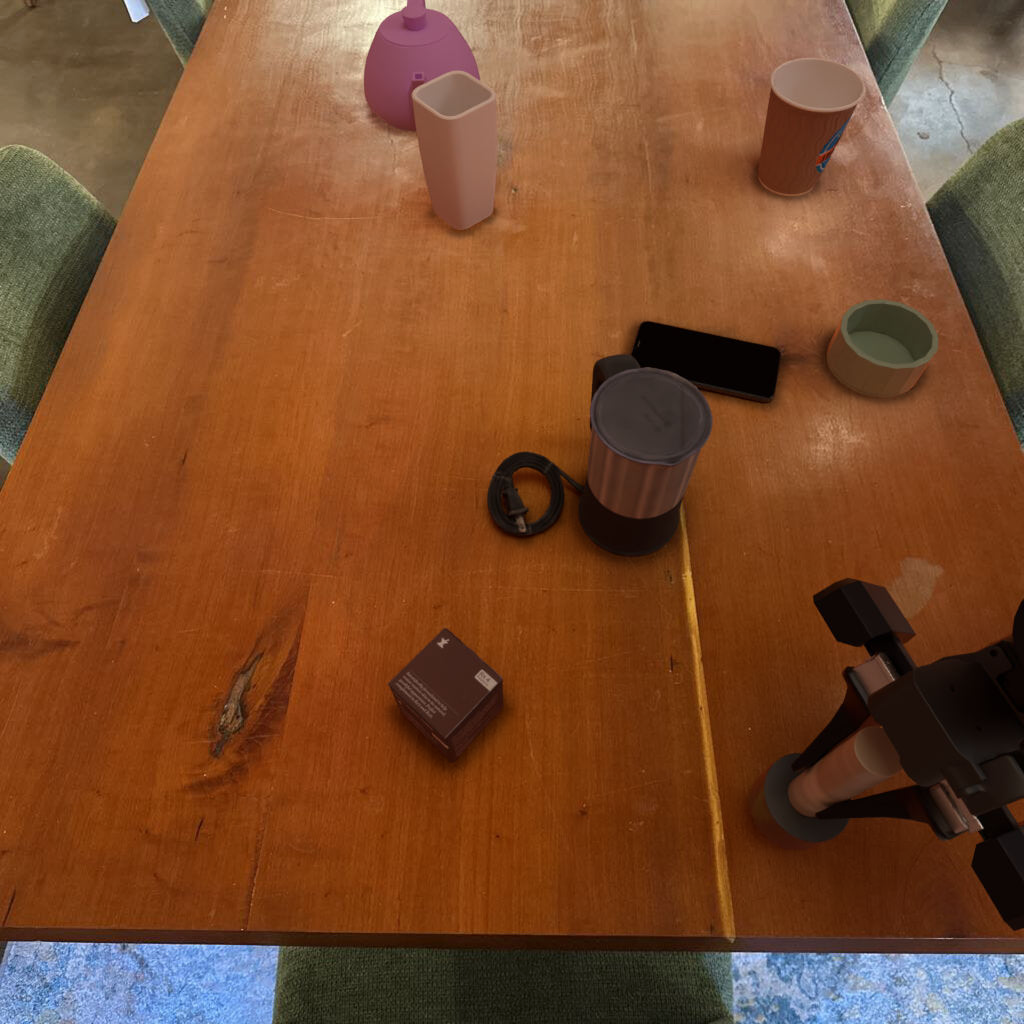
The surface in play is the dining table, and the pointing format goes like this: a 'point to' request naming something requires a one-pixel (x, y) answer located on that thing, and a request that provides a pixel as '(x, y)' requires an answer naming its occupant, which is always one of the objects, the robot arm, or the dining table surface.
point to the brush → (819, 789)
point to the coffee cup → (805, 121)
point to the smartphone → (709, 360)
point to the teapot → (411, 60)
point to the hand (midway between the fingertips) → (805, 792)
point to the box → (448, 694)
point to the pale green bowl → (881, 348)
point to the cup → (458, 146)
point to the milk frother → (621, 460)
